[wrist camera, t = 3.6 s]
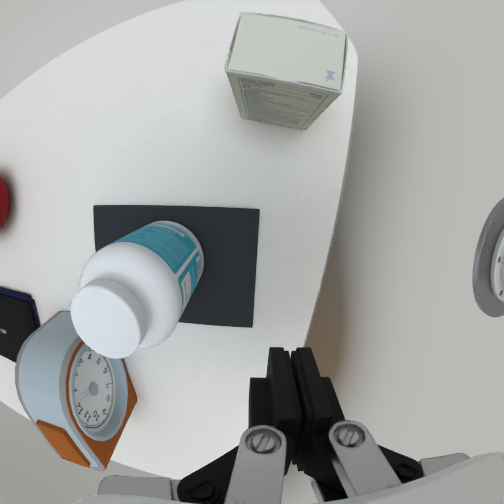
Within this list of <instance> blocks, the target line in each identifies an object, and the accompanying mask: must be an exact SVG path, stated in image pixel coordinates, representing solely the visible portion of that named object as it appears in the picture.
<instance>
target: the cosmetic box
mask: <svg viewBox="0 0 504 504" xmlns="http://www.w3.org/2000/svg"><path fill="white" fill-rule="evenodd" d="M347 49H348V33H347V32H345V31H342V30H339V29H336V28H333V27H330V26H326V25H322V24H318V23H314V22H310V21H305V20H301V19H295V18H290V17H284V16H278V15H271V14H262V13H253V12H241V13H240V16H239V19H238V22H237V25H236V28H235V31H234V35H233V38H232V41H231V45H230V48H229V52H228V56H227V60H226V64H225V71H226V73H227V76H228V79H229V82H230V85H231V88H232V91H233V94H234V97H235V100H236V103H237V106H238V109H239V112H240V115H241V117H242V118H245V119H250V120H255V121H261V122H266V123H271V124H276V125H281V126H286V127H291V128H296V129H301V130H306V129H307V128H308V127H309V126H310V125H311V124H312V123H313V122H314V121H315V120H316V119H317V118H318V116H319V115H320V114H321V113H322V112H323V111H324V110H325V109H326V108H327V107H328V106H329V105H330V104H331V103H332V102H333V101H334V100H335V99H336V98H337V97H338V96H339V95H341V94H342V90H343V84H344V76H345V69H346V60H347Z"/></svg>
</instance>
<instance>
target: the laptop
mask: <svg viewBox="0 0 504 504" xmlns="http://www.w3.org/2000/svg"><path fill="white" fill-rule="evenodd" d="M39 327H40V324H39V321H38V315H37V312H36V307H35V303H34V300H33V299H30V296H29V295H26V294H22V293H18V292H15V291H11V290H7V289H4V288H0V355H2V356H4V357H6V358H8V359H10V360H12V361H14V362H16V361H17V356H18V353H19V351H20V349H21V347H22V345H23V343H24V342H25V340H26V339H27V338H28V337H29V336H30V335H31V334H32V333H33V332H34V331H36V330H37V329H38V328H39Z"/></svg>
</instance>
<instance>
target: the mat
mask: <svg viewBox="0 0 504 504" xmlns="http://www.w3.org/2000/svg"><path fill="white" fill-rule="evenodd" d="M93 210H94V234H95V249H96V252H97V251H99V250H100V249H102V248H104V247H105V246H107V245H109V244H111V243H113V242H115V241H117V240H119V239H121V238H122V237H124V236H126V235H128V234H130V233H132V232H134V231H136V230H138V229H140V228H142V227H144V226H146V225H148V224H151V223H153V222H157V221H171V222H175V223H178V224H180V225H182V226H184V227H186V228H187V229H188V230H189V231H191V232H192V233H193V234H194V236H195V237H196V238H197V240H198V242H199V243H200V246H201V248H202V251H203V256H204V267H203V272H202V275H201V277H200V279H199V281H198V283H197V285H196V287H195V289H194V291H193V293H192V295H191V297H190V299H189V301H188V303H187V305H186V307H185V309H184V311H183V313H182V315H181V317H180V319H179V321H178V322H183V323H194V324H205V325H218V326H232V327H250V328H252V325H253V309H254V293H255V277H256V260H257V244H258V227H259V209H246V208H225V207H198V206H154V205H98V206H93Z"/></svg>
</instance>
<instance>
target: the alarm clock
mask: <svg viewBox="0 0 504 504" xmlns="http://www.w3.org/2000/svg"><path fill="white" fill-rule="evenodd" d="M15 384H16V389H17V393H18V397H19V400H20V402H21V404H22V406H23V408H24V410H25V412H26V413H27V415H28V416H29V418H30V419H31V421H32V422H33V423H34V425H35V426H36V428H37V429H38V431H39V432H40V433H41V435H42V436H43V437H44V439H45V440H46V441H47V443H48V444H49V445H50V447H51V448H52V449H53V450H54V451H55V452H56V453H57V454H59V455H60V456H61V457H62V458H63V459H66V460H68V461H71V462H73V463H76V464H79V465H82V466H85V467H88V468H92V469H94V470H98V471H104V470H105V469H106V467H107V465H108V463H109V461H110V458H111V456H112V454H113V452H114V449H115V447H116V445H117V443H118V440H119V438H120V436H121V434H122V432H123V430H124V427H125V425H126V423H127V421H128V419H129V417H130V415H131V412H132V410H133V408H134V406H135V404H136V402H137V397H136V394H135V392H134V389H133V387H132V384H131V382H130V379H129V377H128V374H127V371H126V369H125V366H124V363H123V361H122V358H121V359H114V358H108V357H105V356H103V355H100V354H98V353H97V352H95V351H94V350H92V349H91V348H90V347H89V346H88V345H87V344H86V343H85V342H84V341H83V340H82V339H81V338H80V336H79V335H78V333H77V332H76V329H75V327H74V325H73V322H72V318H71V312H68V311H59V312H58V313H57V314H55V315H54V316H53V317H52V318H50V319H49V320H48V321H47V322H45V323H44V324H43V325H42V326H40V327H39V328H38V329H37V330H36V331H34V332H33V333H32V334H31V335H30V336H29V337H28V338H27V339H26V340H25V342H24V343H23V345H22V347H21V349H20V351H19V353H18V356H17V361H16V366H15Z"/></svg>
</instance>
